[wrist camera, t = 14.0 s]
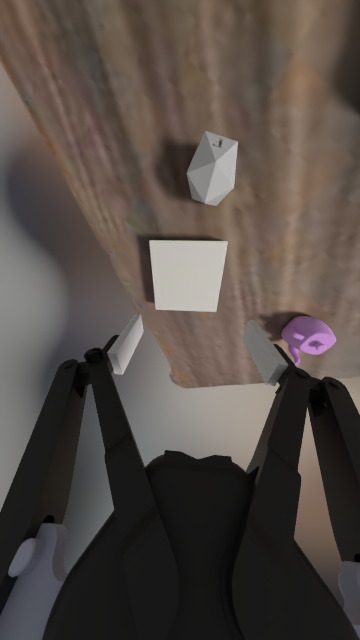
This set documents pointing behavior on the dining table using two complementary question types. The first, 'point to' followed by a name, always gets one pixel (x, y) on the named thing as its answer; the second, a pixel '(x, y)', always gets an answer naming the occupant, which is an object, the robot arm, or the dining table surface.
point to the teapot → (307, 336)
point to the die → (212, 169)
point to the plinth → (187, 274)
